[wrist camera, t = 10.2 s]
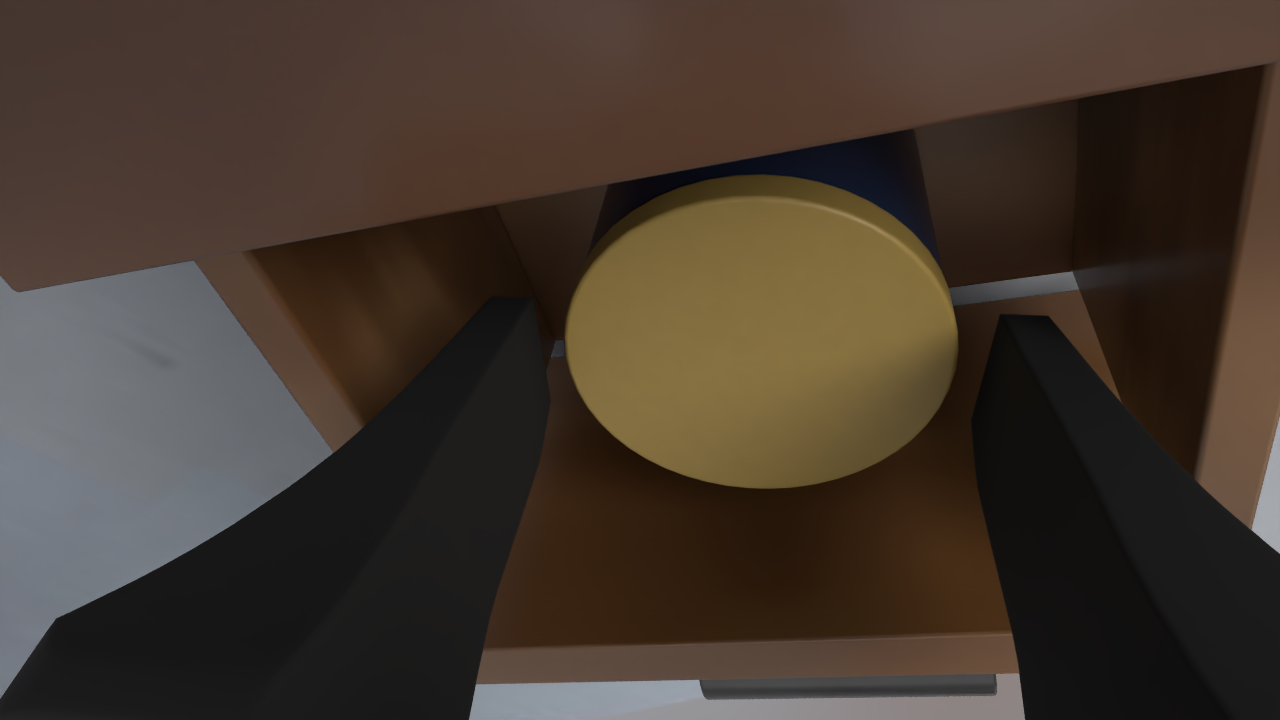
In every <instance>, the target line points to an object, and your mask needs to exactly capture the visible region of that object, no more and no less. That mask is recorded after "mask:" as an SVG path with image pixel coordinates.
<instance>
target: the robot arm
mask: <svg viewBox="0 0 1280 720" xmlns="http://www.w3.org/2000/svg"><path fill="white" fill-rule="evenodd" d="M550 403H551V397H550V391H549V386H548V380H547V374H546V369H545V363H544V357H543V352H542V346H541V340H540V335H539V329H538V323H537V318H536V312H535V306H534V300H533V298H527V297H498V296H492V297H491V298H490V299H489V300H488V301H486V302H485V304H484V305H483V306H482V307H481V308H480V309H479V310H478V311H477V312H476V313H475V314H474V315H473V316H472V317H471V318H470V320H469V321H468V322H467V323H466V324H465V325H464V326H463V327H462V328H461V329H460V330H459V332H458V333H457V334H456V335H455V336H454V337H453V338H452V339H451V340H450V341H449V342H448V344H447V345H446V346H445V347H444V348H443V349H442V350H441V351H440V352H439V353H438V354H437V355H436V356H435V357H434V359H433V360H432V361H431V362H430V363H429V364H428V365H427V366H426V367H425V368H424V369H423V370H422V371H421V372H420V373H419V374H418V375H417V376H416V377H415V378H414V379H413V380H412V381H411V382H410V383H409V384H408V385H407V386H406V387H405V388H404V389H403V390H402V391H401V392H400V393H399V394H398V395H397V396H396V397H395V398H394V399H393V400H392V401H391V402H390V403H389V404H388V405H387V406H386V407H384V408H383V409H382V410H381V411H380V412H379V413H378V414H377V415H376V416H375V417H374V418H373V419H372V420H370V421H369V422H368V423H367V424H366V425H365V426H364V427H363V428H362V429H361V430H360V431H359V432H357V433H356V434H355V435H354V436H353V437H352V438H351V439H349V440H348V441H347V442H346V443H345V444H344V445H342V446H341V447H340V448H339V449H338V450H337V451H335V452H334V453H333V454H332V455H330V456H329V457H328V458H327V459H325V460H324V461H323V462H321V463H320V464H319V465H318V466H316V467H315V468H314V469H312V470H311V471H310V472H308V473H307V474H306V475H305V476H303V477H302V478H301V479H299V480H298V481H297V482H295V483H294V484H292V485H291V486H290V487H288V488H287V489H285V490H284V491H282V492H281V493H279V494H278V495H276V496H275V497H273V498H272V499H270V500H269V501H267V502H266V503H265V504H263V505H262V506H260V507H259V508H257V509H256V510H254V511H253V512H251V513H250V514H248V515H247V516H245V517H244V518H242V519H241V520H239V521H238V522H236V523H235V524H233V525H232V526H230V527H229V528H227V529H225V530H224V531H222V532H220V533H219V534H217V535H215V536H214V537H212V538H210V539H209V540H207V541H205V542H204V543H202V544H200V545H199V546H197V547H195V548H194V549H192V550H190V551H188V552H186V553H185V554H183V555H181V556H179V557H178V558H176V559H174V560H172V561H170V562H169V563H167V564H165V565H163V566H162V567H160V568H158V569H156V570H154V571H152V572H150V573H148V574H147V575H145V576H143V577H141V578H139V579H137V580H135V581H133V582H131V583H129V584H127V585H125V586H123V587H121V588H119V589H117V590H115V591H113V592H111V593H108V594H106V595H104V596H102V597H100V598H98V599H96V600H94V601H92V602H90V603H88V604H86V605H84V606H82V607H80V608H78V609H76V610H74V611H72V612H70V613H67V614H65V615H63V616H61V617H59V618H56V620H55V621H54V623H53V624H52V625H51V627H50V628H49V629H48V631H47V632H46V633H45V635H44V636H43V638H42V639H41V641H40V642H39V644H38V645H37V646H36V648H35V649H34V651H33V652H32V654H31V655H30V657H29V658H28V660H27V661H26V662H25V664H24V665H23V667H22V668H21V670H20V671H19V673H18V674H17V676H16V677H15V678H14V680H13V681H12V683H11V684H10V686H9V687H8V689H7V690H6V692H5V693H4V695H3V696H2V697H1V699H0V720H469V716H470V711H471V706H472V701H473V696H474V691H475V686H476V681H477V676H478V671H479V667H480V662H481V657H482V653H483V648H484V643H485V639H486V634H487V629H488V625H489V620H490V616H491V613H492V609H493V606H494V602H495V598H496V595H497V591H498V588H499V585H500V582H501V579H502V576H503V573H504V570H505V567H506V564H507V561H508V558H509V555H510V552H511V549H512V545H513V542H514V539H515V536H516V533H517V530H518V527H519V524H520V521H521V518H522V515H523V512H524V509H525V506H526V503H527V500H528V497H529V493H530V490H531V487H532V484H533V481H534V478H535V475H536V471H537V468H538V465H539V462H540V457H541V452H542V447H543V442H544V437H545V432H546V426H547V420H548V415H549V409H550ZM971 429H972V440H973V451H974V461H975V470H976V479H977V488H978V492H979V497H980V501H981V505H982V510H983V514H984V518H985V522H986V527H987V531H988V535H989V539H990V544H991V548H992V552H993V556H994V560H995V564H996V568H997V572H998V577H999V581H1000V585H1001V589H1002V593H1003V597H1004V601H1005V606H1006V610H1007V614H1008V618H1009V622H1010V626H1011V630H1012V635H1013V640H1014V645H1015V651H1016V656H1017V661H1018V667H1019V675H1020V683H1021V690H1022V698H1023V706H1024V714H1025V720H1280V554H1279V553H1278V552H1277V551H1275V550H1274V549H1273V548H1272V547H1271V546H1269V545H1268V544H1267V543H1266V542H1265V541H1263V540H1262V539H1261V538H1260V537H1259V536H1258V535H1256V534H1255V533H1254V532H1253V531H1252V530H1251V529H1249V528H1248V527H1247V526H1246V525H1245V524H1243V523H1242V522H1241V521H1240V520H1239V519H1238V518H1236V517H1235V516H1234V515H1233V514H1232V513H1231V512H1229V511H1228V510H1227V509H1226V508H1225V507H1224V506H1223V505H1222V504H1220V503H1219V502H1218V501H1217V500H1216V499H1215V498H1214V497H1213V496H1212V495H1211V494H1209V493H1208V492H1207V491H1206V490H1205V489H1204V488H1203V487H1202V486H1201V485H1200V484H1199V483H1198V482H1197V481H1196V480H1195V479H1194V478H1193V477H1192V476H1191V475H1190V474H1189V473H1188V472H1187V471H1186V470H1185V469H1184V468H1183V467H1182V466H1181V465H1180V464H1179V463H1178V462H1176V461H1175V460H1174V459H1173V458H1172V457H1171V456H1170V455H1169V454H1168V453H1167V452H1166V451H1165V449H1164V448H1163V447H1162V446H1161V445H1160V444H1159V443H1158V442H1157V441H1156V440H1155V439H1154V438H1153V437H1152V436H1151V435H1150V434H1149V432H1148V431H1147V430H1146V429H1145V428H1144V427H1143V426H1142V425H1141V424H1140V422H1139V421H1138V420H1137V419H1136V418H1135V417H1134V416H1133V415H1132V414H1131V413H1130V411H1129V410H1128V409H1127V408H1126V407H1125V406H1124V405H1123V404H1122V403H1121V401H1120V400H1119V399H1118V398H1117V397H1116V396H1115V394H1114V393H1113V392H1112V391H1111V390H1110V389H1109V388H1108V386H1107V385H1106V384H1105V383H1104V382H1103V380H1102V379H1101V378H1100V377H1099V376H1098V374H1097V373H1096V372H1095V371H1094V370H1093V369H1092V367H1091V366H1090V365H1089V364H1088V363H1087V361H1086V360H1085V359H1084V358H1083V356H1082V355H1081V354H1080V353H1079V352H1078V350H1077V349H1076V348H1075V347H1074V346H1073V344H1072V343H1071V342H1070V341H1069V339H1068V338H1067V337H1066V336H1065V335H1064V333H1063V332H1062V331H1061V330H1060V329H1059V327H1058V326H1057V325H1056V324H1055V323H1054V322H1053V320H1052V319H1051V318H1050V317H1049V316H1046V315H1017V314H1000V316H999V320H998V323H997V327H996V331H995V334H994V338H993V342H992V345H991V349H990V353H989V356H988V360H987V364H986V367H985V371H984V375H983V378H982V382H981V386H980V389H979V393H978V397H977V401H976V404H975V408H974V412H973V415H972V419H971Z"/></svg>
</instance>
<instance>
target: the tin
mask: <svg viewBox="0 0 1280 720" xmlns="http://www.w3.org/2000/svg"><path fill="white" fill-rule="evenodd" d="M564 343H565V355H566V359H567V363H568V367H569V371H570V374H571V377H572V379H573V382H574V384H575V387H576V389H577V391H578V393H579V395H580V396H581V398H582V400H583V401H584V403H585V405H586V406H587V408H588V409H589V410H590V412H591V413H592V414H593V415H594V417H595V418H596V419H597V420H598V422H599V423H600V424H601V425H602V426H603V427H604V428H605V429H606V430H607V431H609V432H610V433H611V434H612V435H613V436H614V437H615V438H616V439H618V440H619V441H620V442H622V443H623V444H624V445H625V446H627V447H628V448H629V449H631V450H633V451H634V452H636V453H637V454H639V455H641V456H642V457H644V458H645V459H647V460H649V461H651V462H653V463H655V464H657V465H659V466H661V467H664V468H666V469H668V470H671V471H673V472H676V473H679V474H681V475H684V476H687V477H691V478H694V479H698V480H701V481H705V482H709V483H715V484H720V485H725V486H732V487H742V488H757V489H777V488H793V487H800V486H807V485H814V484H819V483H823V482H827V481H831V480H835V479H839V478H842V477H845V476H848V475H850V474H853V473H856V472H859V471H861V470H863V469H865V468H868V467H870V466H872V465H874V464H876V463H878V462H880V461H882V460H883V459H885V458H887V457H888V456H890V455H892V454H893V453H895V452H897V451H898V450H899V449H900V448H902V447H903V446H904V445H906V444H907V443H908V442H910V441H911V440H912V439H913V438H914V437H915V436H916V435H917V434H918V433H919V432H920V431H921V430H922V429H923V428H924V427H925V426H926V425H927V424H928V423H929V421H930V420H931V419H932V417H933V416H934V415H935V413H936V412H937V411H938V409H939V408H940V406H941V404H942V402H943V400H944V399H945V397H946V395H947V393H948V391H949V389H950V386H951V383H952V380H953V377H954V374H955V371H956V365H957V358H958V352H959V348H958V329H957V324H956V319H955V314H954V309H953V304H952V300H951V295H950V291H949V288H948V285H947V283H946V281H945V278H944V276H943V273H942V268H941V263H940V258H939V253H938V248H937V242H936V237H935V232H934V227H933V222H932V217H931V212H930V207H929V202H928V197H927V192H926V186H925V181H924V176H923V171H922V166H921V161H920V156H919V151H918V146H917V142H916V137H915V133H914V130H913V129H909V130H903V131H898V132H892V133H887V134H881V135H876V136H870V137H865V138H860V139H854V140H849V141H843V142H838V143H832V144H827V145H821V146H816V147H810V148H805V149H799V150H794V151H788V152H783V153H778V154H772V155H767V156H761V157H756V158H750V159H745V160H739V161H734V162H728V163H723V164H717V165H712V166H706V167H701V168H695V169H690V170H685V171H679V172H674V173H668V174H663V175H657V176H652V177H646V178H641V179H635V180H630V181H624V182H619V183H613V184H608V186H607V190H606V193H605V197H604V200H603V204H602V207H601V210H600V214H599V217H598V221H597V224H596V227H595V231H594V234H593V238H592V241H591V245H590V248H589V251H588V255H587V258H586V260H585V262H584V264H583V266H582V268H581V271H580V273H579V275H578V277H577V280H576V283H575V286H574V290H573V293H572V297H571V300H570V303H569V307H568V310H567V314H566V320H565V329H564Z"/></svg>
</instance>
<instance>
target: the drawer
mask: <svg viewBox="0 0 1280 720" xmlns="http://www.w3.org/2000/svg"><path fill="white" fill-rule="evenodd" d="M913 130H914V133H915V137H916V142H917V146H918V151H919V156H920V161H921V166H922V171H923V176H924V181H925V186H926V192H927V197H928V202H929V207H930V212H931V217H932V222H933V227H934V232H935V237H936V242H937V248H938V253H939V258H940V263H941V268H942V273H943V276H944V278H945V281H946V283H947V285H948V288H951V287H958V286H966V285H973V284H981V283H988V282H995V281H1003V280H1010V279H1018V278H1025V277H1033V276H1040V275H1048V274H1055V273H1063V272H1070V271H1073V274H1074V276H1075V279H1076V282H1077V284H1078V287H1079V290H1074V291H1066V292H1059V293H1051V294H1043V295H1035V296H1027V297H1020V298H1012V299H1004V300H996V301H989V302H981V303H973V304H965V305H958V306H953V309H954V314H955V319H956V324H957V329H958V348H959V352H958V358H957V365H956V371H955V374H954V377H953V380H952V383H951V386H950V389H949V391H948V393H947V395H946V397H945V399H944V400H943V402H942V404H941V406H940V408H939V409H938V411H937V412H936V413H935V415H934V416H933V417H932V419H931V420H930V421H929V423H928V424H927V425H926V426H925V427H924V428H923V429H922V430H921V431H920V432H919V433H918V434H917V435H916V436H915V437H914V438H913V439H912V440H911V441H910V442H908V443H907V444H906V445H904V446H903V447H902V448H900V449H899V450H898V451H897V452H895V453H893V454H892V455H890V456H888V457H887V458H885V459H883V460H882V461H880V462H878V463H876V464H874V465H872V466H870V467H868V468H865V469H863V470H861V471H859V472H856V473H853V474H850V475H848V476H845V477H842V478H839V479H835V480H831V481H827V482H823V483H819V484H814V485H807V486H800V487H793V488H777V489H757V488H742V487H732V486H725V485H720V484H715V483H709V482H705V481H701V480H698V479H694V478H691V477H687V476H684V475H681V474H679V473H676V472H673V471H671V470H668V469H666V468H664V467H661V466H659V465H657V464H655V463H653V462H651V461H649V460H647V459H645V458H644V457H642V456H641V455H639V454H637V453H636V452H634V451H633V450H631V449H629V448H628V447H627V446H625V445H624V444H623V443H622V442H620V441H619V440H618V439H616V438H615V437H614V436H613V435H612V434H611V433H610V432H609V431H607V430H606V429H605V428H604V427H603V426H602V425H601V424H600V423H599V422H598V420H597V419H596V418H595V417H594V415H593V414H592V413H591V412H590V410H589V409H588V408H587V406H586V405H585V403H584V401H583V400H582V398H581V396H580V395H579V393H578V391H577V389H576V387H575V384H574V382H573V379H572V377H571V374H570V371H569V367H568V363H567V359H566V356H561V357H553V358H550V357H551V354H552V351H553V347H554V344H555V341H556V340H563V339H564V329H565V320H566V314H567V310H568V307H569V303H570V300H571V297H572V293H573V290H574V286H575V283H576V280H577V277H578V275H579V273H580V271H581V268H582V266H583V264H584V262H585V260H586V258H587V255H588V251H589V248H590V245H591V241H592V238H593V234H594V231H595V227H596V224H597V221H598V217H599V214H600V210H601V207H602V204H603V200H604V197H605V193H606V190H607V186H608V185H603V186H597V187H592V188H586V189H581V190H575V191H570V192H564V193H559V194H553V195H548V196H542V197H537V198H531V199H526V200H520V201H515V202H510V203H504V204H499V205H493V206H488V207H482V208H477V209H471V210H466V211H460V212H455V213H449V214H444V215H438V216H433V217H428V218H422V219H417V220H411V221H406V222H400V223H395V224H389V225H384V226H378V227H373V228H367V229H362V230H356V231H351V232H345V233H340V234H335V235H329V236H324V237H318V238H313V239H307V240H302V241H296V242H291V243H285V244H280V245H274V246H269V247H263V248H258V249H253V250H247V251H242V252H236V253H231V254H225V255H220V256H214V257H209V258H203V259H198V260H194V261H195V263H196V264H197V265H198V267H199V268H200V269H201V271H202V272H203V274H204V275H205V276H206V278H207V279H208V280H209V282H210V283H211V285H212V286H213V287H214V289H215V290H216V291H217V293H218V294H219V296H220V297H221V298H222V300H223V301H224V302H225V304H226V305H227V307H228V308H229V309H230V311H231V312H232V313H233V315H234V316H235V318H236V319H237V320H238V322H239V323H240V324H241V326H242V327H243V329H244V330H245V331H246V333H247V334H248V335H249V337H250V338H251V340H252V341H253V342H254V344H255V345H256V346H257V348H258V349H259V351H260V352H261V353H262V355H263V356H264V357H265V359H266V360H267V362H268V363H269V364H270V366H271V367H272V368H273V370H274V371H275V373H276V374H277V375H278V377H279V378H280V380H281V381H282V382H283V384H284V385H285V386H286V388H287V389H288V391H289V392H290V393H291V395H292V396H293V397H294V399H295V400H296V402H297V403H298V404H299V406H300V407H301V408H302V410H303V411H304V413H305V414H306V415H307V417H308V418H309V419H310V421H311V422H312V424H313V425H314V426H315V428H316V429H317V430H318V432H319V433H320V435H321V436H322V437H323V439H324V440H325V441H326V443H327V444H328V446H329V447H330V448H331V450H332V451H333V452H335V451H337V450H338V449H339V448H340V447H341V446H342V445H344V444H345V443H346V442H347V441H348V440H349V439H351V438H352V437H353V436H354V435H355V434H356V433H357V432H359V431H360V430H361V429H362V428H363V427H364V426H365V425H366V424H367V423H368V422H369V421H370V420H372V419H373V418H374V417H375V416H376V415H377V414H378V413H379V412H380V411H381V410H382V409H383V408H384V407H386V406H387V405H388V404H389V403H390V402H391V401H392V400H393V399H394V398H395V397H396V396H397V395H398V394H399V393H400V392H401V391H402V390H403V389H404V388H405V387H406V386H407V385H408V384H409V383H410V382H411V381H412V380H413V379H414V378H415V377H416V376H417V375H418V374H419V373H420V372H421V371H422V370H423V369H424V368H425V367H426V366H427V365H428V364H429V363H430V362H431V361H432V360H433V359H434V357H435V356H436V355H437V354H438V353H439V352H440V351H441V350H442V349H443V348H444V347H445V346H446V345H447V344H448V342H449V341H450V340H451V339H452V338H453V337H454V336H455V335H456V334H457V333H458V332H459V330H460V329H461V328H462V327H463V326H464V325H465V324H466V323H467V322H468V321H469V320H470V318H471V317H472V316H473V315H474V314H475V313H476V312H477V311H478V310H479V309H480V308H481V307H482V306H483V305H484V304H485V302H486V301H488V300H489V299H490V298H491V297H492V296H498V297H527V298H533V300H534V306H535V312H536V318H537V323H538V329H539V335H540V340H541V346H542V352H543V357H544V363H545V369H546V374H547V380H548V386H549V391H550V397H551V403H550V409H549V415H548V420H547V426H546V432H545V437H544V442H543V447H542V452H541V457H540V462H539V465H538V468H537V471H536V475H535V478H534V481H533V484H532V487H531V490H530V493H529V497H528V500H527V503H526V506H525V509H524V512H523V515H522V518H521V521H520V524H519V527H518V530H517V533H516V536H515V539H514V542H513V545H512V549H511V552H510V555H509V558H508V561H507V564H506V567H505V570H504V573H503V576H502V579H501V582H500V585H499V588H498V591H497V595H496V598H495V602H494V606H493V609H492V613H491V616H490V620H489V625H488V629H487V634H486V639H485V643H484V648H483V653H482V657H481V662H480V667H479V671H478V676H477V681H476V684H515V683H564V682H613V681H662V680H700V686H701V689H702V692H703V695H704V697H705V698H706V699H708V700H720V699H721V700H722V699H791V698H792V699H793V698H860V697H861V698H864V697H930V696H931V697H932V696H933V697H934V696H994V695H996V693H997V682H996V674H999V673H1000V674H1003V673H1019V667H1018V661H1017V656H1016V651H1015V645H1014V640H1013V635H1012V630H1011V626H1010V622H1009V618H1008V614H1007V610H1006V606H1005V601H1004V597H1003V593H1002V589H1001V585H1000V581H999V577H998V572H997V568H996V564H995V560H994V556H993V552H992V548H991V544H990V539H989V535H988V531H987V527H986V522H985V518H984V514H983V510H982V505H981V501H980V497H979V492H978V488H977V479H976V470H975V461H974V451H973V440H972V429H971V419H972V415H973V412H974V408H975V404H976V401H977V397H978V393H979V389H980V386H981V382H982V378H983V375H984V371H985V367H986V364H987V360H988V356H989V353H990V349H991V345H992V342H993V338H994V334H995V331H996V327H997V323H998V320H999V316H1000V314H1017V315H1046V316H1049V317H1050V318H1051V319H1052V320H1053V322H1054V323H1055V324H1056V325H1057V326H1058V327H1059V329H1060V330H1061V331H1062V332H1063V333H1064V335H1065V336H1066V337H1067V338H1068V339H1069V341H1070V342H1071V343H1072V344H1073V346H1074V347H1075V348H1076V349H1077V350H1078V352H1079V353H1080V354H1081V355H1082V356H1083V358H1084V359H1085V360H1086V361H1087V363H1088V364H1089V365H1090V366H1091V367H1092V369H1093V370H1094V371H1095V372H1096V373H1097V374H1098V376H1099V377H1100V378H1101V379H1102V380H1103V382H1104V383H1105V384H1106V385H1107V386H1108V388H1109V389H1110V390H1111V391H1112V392H1113V393H1114V394H1115V396H1116V397H1117V398H1118V399H1119V400H1120V401H1121V403H1122V404H1123V405H1124V406H1125V407H1126V408H1127V409H1128V410H1129V411H1130V413H1131V414H1132V415H1133V416H1134V417H1135V418H1136V419H1137V420H1138V421H1139V422H1140V424H1141V425H1142V426H1143V427H1144V428H1145V429H1146V430H1147V431H1148V432H1149V434H1150V435H1151V436H1152V437H1153V438H1154V439H1155V440H1156V441H1157V442H1158V443H1159V444H1160V445H1161V446H1162V447H1163V448H1164V449H1165V451H1166V452H1167V453H1168V454H1169V455H1170V456H1171V457H1172V458H1173V459H1174V460H1175V461H1176V462H1178V463H1179V464H1180V465H1181V466H1182V467H1183V468H1184V469H1185V470H1186V471H1187V472H1188V473H1189V474H1190V475H1191V476H1192V477H1193V478H1194V479H1195V480H1196V481H1197V482H1198V483H1199V484H1200V485H1201V486H1202V487H1203V488H1204V489H1205V490H1206V491H1207V492H1208V493H1209V494H1211V495H1212V496H1213V497H1214V498H1215V499H1216V500H1217V501H1218V502H1219V503H1220V504H1222V505H1223V506H1224V507H1225V508H1226V509H1227V510H1228V511H1229V512H1231V513H1232V514H1233V515H1234V516H1235V517H1236V518H1238V519H1239V520H1240V521H1241V522H1242V523H1243V524H1245V525H1246V526H1247V527H1248V528H1249V529H1252V525H1253V521H1254V517H1255V513H1256V509H1257V505H1258V501H1259V497H1260V493H1261V489H1262V485H1263V481H1264V477H1265V473H1266V469H1267V465H1268V461H1269V457H1270V453H1271V449H1272V445H1273V441H1274V437H1275V433H1276V429H1277V425H1278V421H1279V417H1280V62H1275V63H1270V64H1264V65H1259V66H1253V67H1248V68H1242V69H1237V70H1231V71H1226V72H1221V73H1215V74H1210V75H1204V76H1199V77H1193V78H1188V79H1182V80H1177V81H1171V82H1166V83H1160V84H1155V85H1149V86H1144V87H1138V88H1133V89H1128V90H1122V91H1117V92H1111V93H1106V94H1100V95H1095V96H1089V97H1084V98H1078V99H1073V100H1067V101H1062V102H1056V103H1051V104H1046V105H1040V106H1035V107H1029V108H1024V109H1018V110H1013V111H1007V112H1002V113H996V114H991V115H985V116H980V117H974V118H969V119H963V120H958V121H953V122H947V123H942V124H936V125H931V126H925V127H920V128H914V129H913Z"/></svg>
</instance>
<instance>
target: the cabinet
mask: <svg viewBox="0 0 1280 720" xmlns="http://www.w3.org/2000/svg"><path fill="white" fill-rule="evenodd" d="M1275 62H1280V0H0V276H1V277H2V278H3V279H4V280H5V281H6V282H7V284H8V285H9V286H10V287H11V288H12V289H13V290H15V291H17V292H23V291H28V290H34V289H39V288H45V287H50V286H56V285H61V284H67V283H72V282H78V281H83V280H88V279H94V278H99V277H105V276H110V275H116V274H121V273H127V272H132V271H138V270H143V269H149V268H154V267H160V266H165V265H170V264H176V263H181V262H187V261H192V260H198V259H203V258H209V257H214V256H220V255H225V254H231V253H236V252H242V251H247V250H253V249H258V248H263V247H269V246H274V245H280V244H285V243H291V242H296V241H302V240H307V239H313V238H318V237H324V236H329V235H335V234H340V233H345V232H351V231H356V230H362V229H367V228H373V227H378V226H384V225H389V224H395V223H400V222H406V221H411V220H417V219H422V218H428V217H433V216H438V215H444V214H449V213H455V212H460V211H466V210H471V209H477V208H482V207H488V206H493V205H499V204H504V203H510V202H515V201H520V200H526V199H531V198H537V197H542V196H548V195H553V194H559V193H564V192H570V191H575V190H581V189H586V188H592V187H597V186H603V185H608V184H613V183H619V182H624V181H630V180H635V179H641V178H646V177H652V176H657V175H663V174H668V173H674V172H679V171H685V170H690V169H695V168H701V167H706V166H712V165H717V164H723V163H728V162H734V161H739V160H745V159H750V158H756V157H761V156H767V155H772V154H778V153H783V152H788V151H794V150H799V149H805V148H810V147H816V146H821V145H827V144H832V143H838V142H843V141H849V140H854V139H860V138H865V137H870V136H876V135H881V134H887V133H892V132H898V131H903V130H909V129H914V128H920V127H925V126H931V125H936V124H942V123H947V122H953V121H958V120H963V119H969V118H974V117H980V116H985V115H991V114H996V113H1002V112H1007V111H1013V110H1018V109H1024V108H1029V107H1035V106H1040V105H1046V104H1051V103H1056V102H1062V101H1067V100H1073V99H1078V98H1084V97H1089V96H1095V95H1100V94H1106V93H1111V92H1117V91H1122V90H1128V89H1133V88H1138V87H1144V86H1149V85H1155V84H1160V83H1166V82H1171V81H1177V80H1182V79H1188V78H1193V77H1199V76H1204V75H1210V74H1215V73H1221V72H1226V71H1231V70H1237V69H1242V68H1248V67H1253V66H1259V65H1264V64H1270V63H1275Z"/></svg>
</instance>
